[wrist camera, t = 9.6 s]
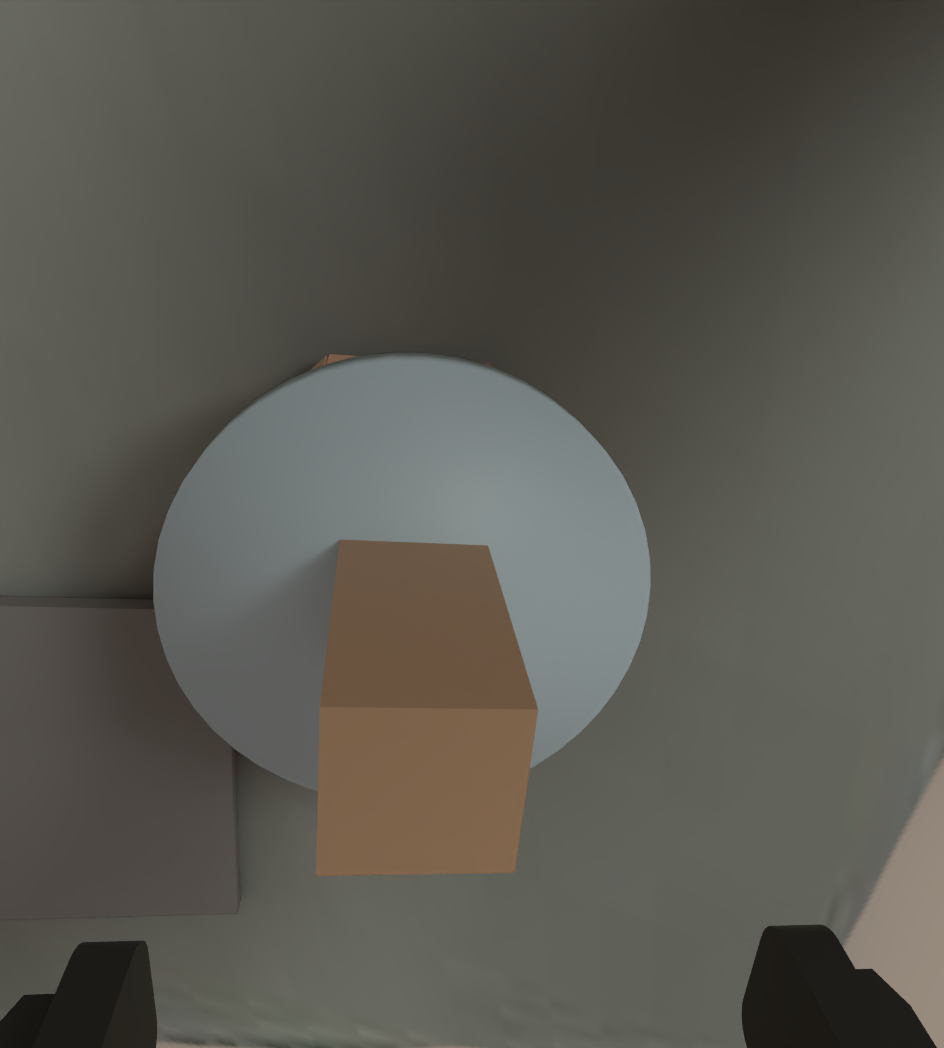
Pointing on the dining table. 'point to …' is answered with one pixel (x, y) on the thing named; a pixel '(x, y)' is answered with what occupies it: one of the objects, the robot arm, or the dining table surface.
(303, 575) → the lid
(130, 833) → the mat
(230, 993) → the dining table surface
